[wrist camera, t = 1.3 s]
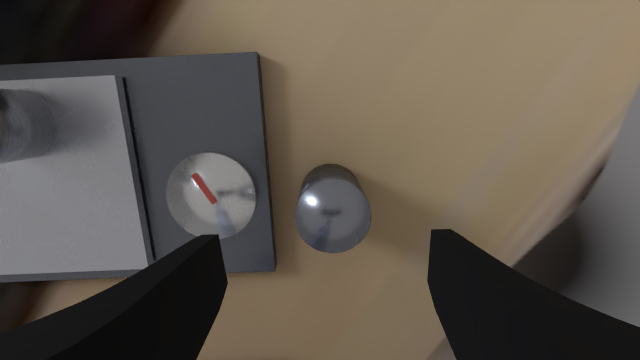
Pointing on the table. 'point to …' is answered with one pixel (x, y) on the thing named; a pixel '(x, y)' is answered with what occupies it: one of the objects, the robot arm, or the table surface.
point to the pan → (75, 186)
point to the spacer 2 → (332, 209)
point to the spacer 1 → (24, 126)
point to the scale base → (189, 152)
